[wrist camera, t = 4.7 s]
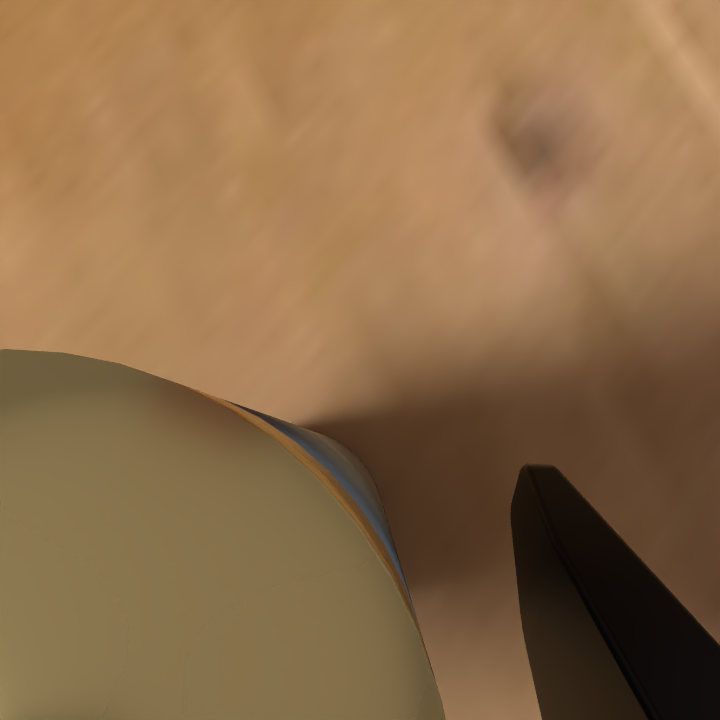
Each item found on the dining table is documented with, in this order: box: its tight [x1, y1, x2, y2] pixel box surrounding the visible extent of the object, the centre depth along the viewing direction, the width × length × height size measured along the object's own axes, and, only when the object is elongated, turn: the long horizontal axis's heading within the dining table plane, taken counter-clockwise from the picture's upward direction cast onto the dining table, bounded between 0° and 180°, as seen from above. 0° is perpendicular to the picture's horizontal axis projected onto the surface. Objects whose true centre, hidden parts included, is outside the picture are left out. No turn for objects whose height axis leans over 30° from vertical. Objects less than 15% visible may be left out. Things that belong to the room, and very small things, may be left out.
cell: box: [0, 349, 446, 720], centre depth 9 cm, size 4×4×12 cm
